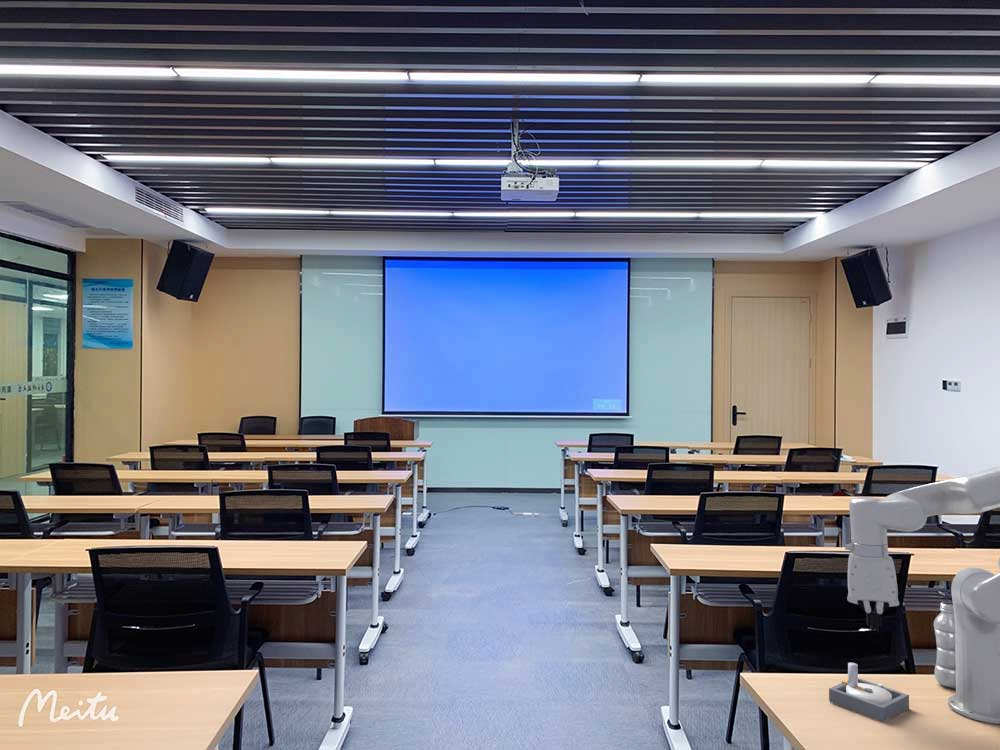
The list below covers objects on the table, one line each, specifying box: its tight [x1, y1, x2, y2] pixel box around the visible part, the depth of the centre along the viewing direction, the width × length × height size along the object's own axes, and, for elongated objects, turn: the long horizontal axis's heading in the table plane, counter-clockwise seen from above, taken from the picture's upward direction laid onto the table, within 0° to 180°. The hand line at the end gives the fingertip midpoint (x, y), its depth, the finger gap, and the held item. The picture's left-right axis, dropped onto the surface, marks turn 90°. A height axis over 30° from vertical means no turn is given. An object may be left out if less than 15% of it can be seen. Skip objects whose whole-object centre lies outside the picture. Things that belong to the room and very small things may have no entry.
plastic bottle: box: [933, 601, 956, 689], centre depth 166 cm, size 6×7×20 cm
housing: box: [828, 677, 910, 723], centre depth 154 cm, size 12×12×4 cm
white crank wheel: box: [846, 662, 892, 705], centre depth 154 cm, size 9×9×7 cm
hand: (874, 629), depth 159 cm, fingers closed
